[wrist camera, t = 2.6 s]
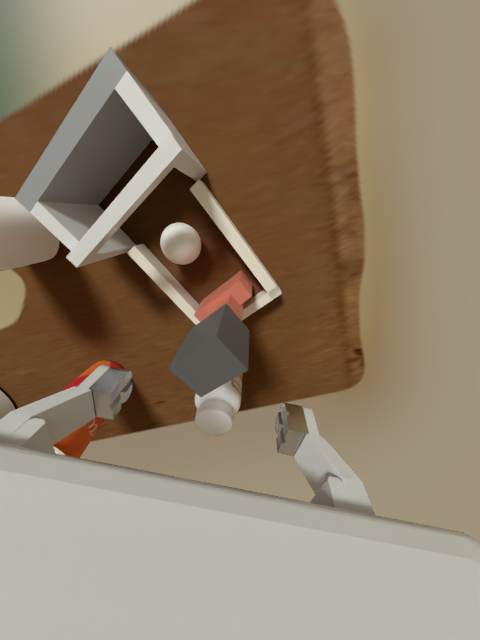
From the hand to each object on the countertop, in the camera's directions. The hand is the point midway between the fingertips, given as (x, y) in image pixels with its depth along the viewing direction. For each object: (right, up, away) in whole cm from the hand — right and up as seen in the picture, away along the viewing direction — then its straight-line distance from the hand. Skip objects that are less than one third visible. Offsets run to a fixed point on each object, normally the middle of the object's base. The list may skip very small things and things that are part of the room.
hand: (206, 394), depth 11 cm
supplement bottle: (0, -2, +19) cm, 19 cm away
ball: (-4, +12, +10) cm, 16 cm away
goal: (-8, +17, +10) cm, 21 cm away
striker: (+1, +7, +14) cm, 16 cm away
